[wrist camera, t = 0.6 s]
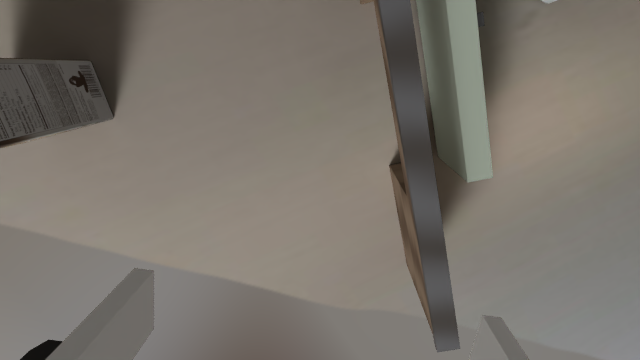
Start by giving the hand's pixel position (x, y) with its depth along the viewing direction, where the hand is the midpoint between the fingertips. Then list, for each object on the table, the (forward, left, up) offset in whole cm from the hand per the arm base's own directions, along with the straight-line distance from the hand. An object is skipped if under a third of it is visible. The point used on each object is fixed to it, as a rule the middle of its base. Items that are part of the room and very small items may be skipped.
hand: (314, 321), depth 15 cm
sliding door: (-6, +12, -26) cm, 30 cm away
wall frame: (-3, +7, -26) cm, 27 cm away
